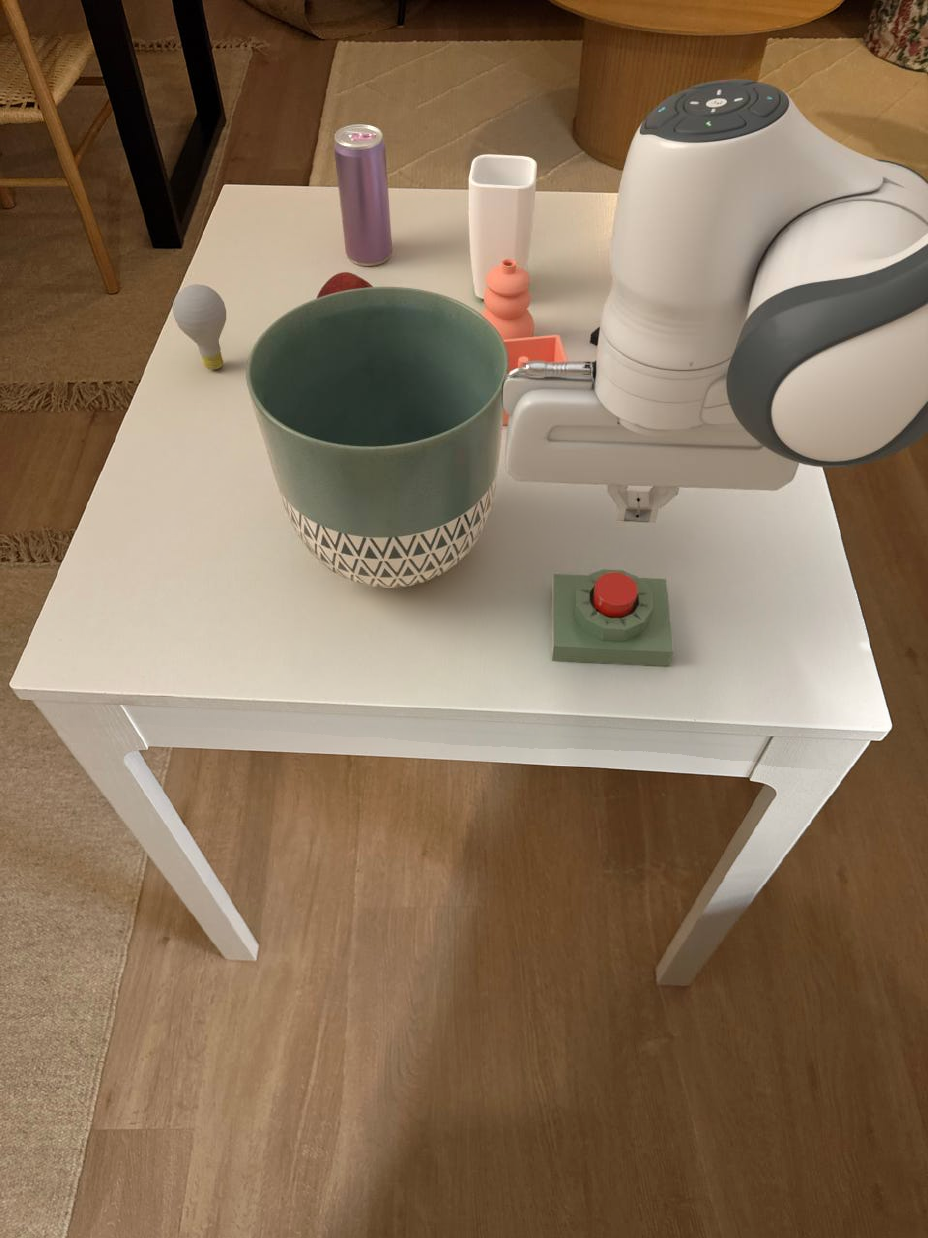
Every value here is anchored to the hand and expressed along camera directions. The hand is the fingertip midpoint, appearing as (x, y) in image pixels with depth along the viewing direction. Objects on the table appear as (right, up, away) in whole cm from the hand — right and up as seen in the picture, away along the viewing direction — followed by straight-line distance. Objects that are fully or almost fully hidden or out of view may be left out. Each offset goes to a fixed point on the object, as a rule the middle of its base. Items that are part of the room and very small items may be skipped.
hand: (635, 516), depth 68 cm
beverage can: (-25, +39, +48) cm, 67 cm away
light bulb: (-41, +21, +33) cm, 57 cm away
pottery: (-7, +20, +33) cm, 39 cm away
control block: (0, -9, +11) cm, 14 cm away
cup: (-9, +33, +43) cm, 54 cm away
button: (0, -6, +8) cm, 10 cm away
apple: (-26, +25, +37) cm, 52 cm away
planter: (-20, -1, +17) cm, 26 cm away
